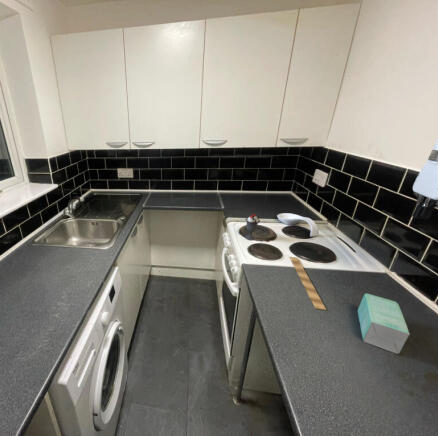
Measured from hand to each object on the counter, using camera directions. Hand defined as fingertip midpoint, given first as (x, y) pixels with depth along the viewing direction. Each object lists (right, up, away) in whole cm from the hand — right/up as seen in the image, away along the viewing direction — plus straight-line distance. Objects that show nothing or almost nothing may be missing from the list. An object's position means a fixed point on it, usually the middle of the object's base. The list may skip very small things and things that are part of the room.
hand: (419, 217), depth 71 cm
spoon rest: (-2, -5, +56) cm, 56 cm away
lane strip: (-25, -24, +16) cm, 38 cm away
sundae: (-32, -10, +47) cm, 57 cm away
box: (-18, -33, -4) cm, 38 cm away
